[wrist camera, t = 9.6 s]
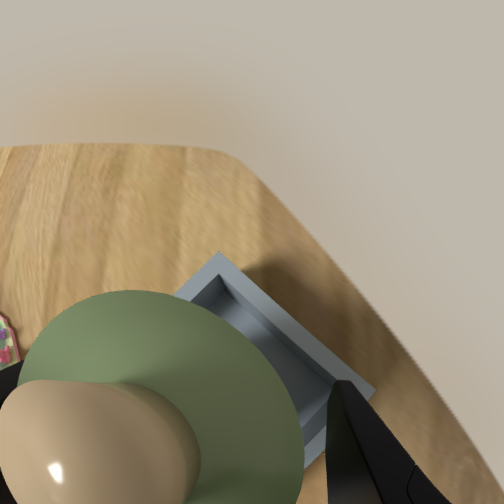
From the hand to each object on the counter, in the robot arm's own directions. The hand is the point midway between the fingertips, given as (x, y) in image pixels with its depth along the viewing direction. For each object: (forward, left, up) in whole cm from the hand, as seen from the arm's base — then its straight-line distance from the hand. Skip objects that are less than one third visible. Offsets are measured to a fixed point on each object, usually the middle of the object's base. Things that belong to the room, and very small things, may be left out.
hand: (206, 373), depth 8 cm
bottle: (-1, -1, -8) cm, 8 cm away
